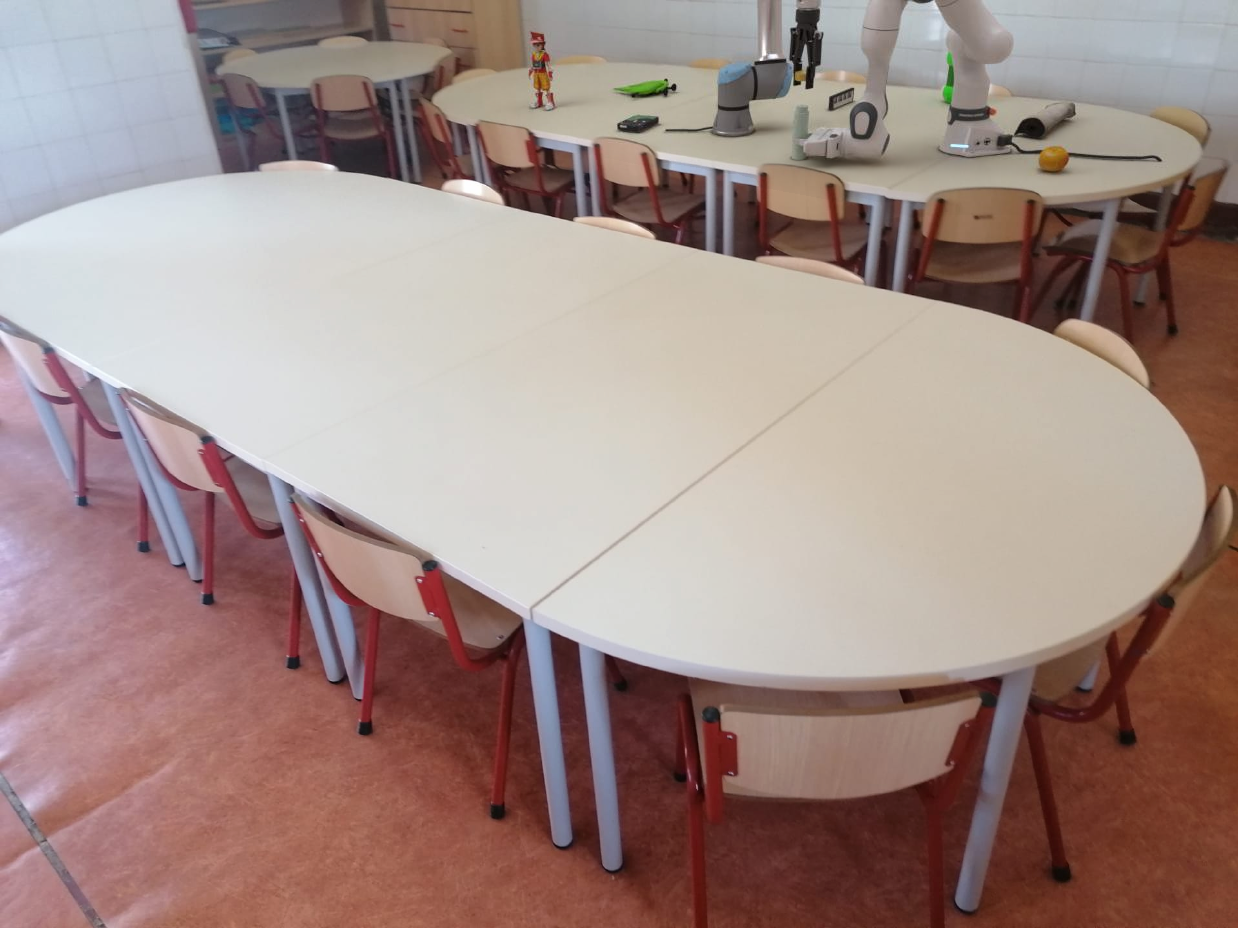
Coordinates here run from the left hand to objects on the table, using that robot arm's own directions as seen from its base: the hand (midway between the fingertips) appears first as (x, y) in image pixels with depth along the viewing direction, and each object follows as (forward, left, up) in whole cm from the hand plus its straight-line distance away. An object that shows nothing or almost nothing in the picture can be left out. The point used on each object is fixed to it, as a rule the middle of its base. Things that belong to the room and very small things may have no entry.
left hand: (803, 87), depth 292 cm
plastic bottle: (+30, +91, -23) cm, 98 cm away
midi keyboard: (-10, +72, -23) cm, 76 cm away
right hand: (-1, 0, -17) cm, 17 cm away
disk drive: (-72, +16, -23) cm, 77 cm away
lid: (0, 0, +4) cm, 4 cm away
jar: (0, 0, -23) cm, 23 cm away
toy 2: (-100, +68, -23) cm, 123 cm away
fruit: (+78, +14, -23) cm, 82 cm away
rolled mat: (+68, +63, -23) cm, 95 cm away
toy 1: (-127, +31, -23) cm, 133 cm away
